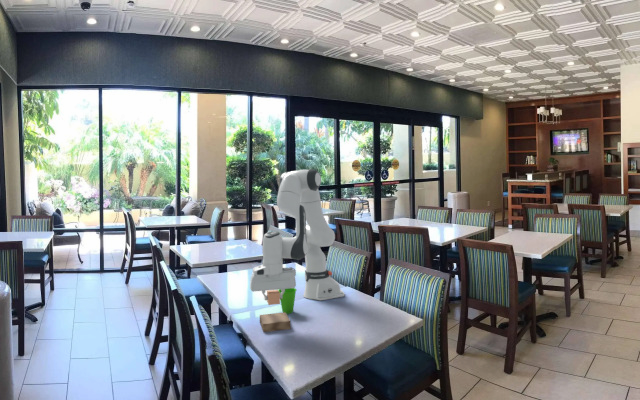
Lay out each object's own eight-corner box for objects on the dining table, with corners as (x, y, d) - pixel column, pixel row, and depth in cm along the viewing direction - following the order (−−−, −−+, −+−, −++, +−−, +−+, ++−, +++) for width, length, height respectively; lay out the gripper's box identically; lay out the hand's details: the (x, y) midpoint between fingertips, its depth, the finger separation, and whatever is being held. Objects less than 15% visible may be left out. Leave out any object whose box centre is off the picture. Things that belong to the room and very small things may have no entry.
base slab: (285, 320, 199) (285, 312, 199) (290, 329, 187) (290, 320, 187) (259, 323, 196) (259, 315, 196) (263, 333, 184) (263, 324, 184)
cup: (276, 310, 212) (275, 288, 211) (294, 307, 215) (293, 286, 214) (281, 316, 204) (280, 293, 203) (299, 313, 207) (298, 291, 206)
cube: (278, 300, 194) (277, 289, 193) (279, 303, 189) (279, 292, 189) (267, 301, 192) (266, 290, 192) (268, 305, 188) (268, 293, 187)
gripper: (294, 265, 195) (294, 295, 196) (249, 268, 190) (250, 299, 191) (297, 268, 189) (297, 299, 190) (250, 271, 184) (251, 303, 185)
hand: (273, 299), depth 191 cm, fingers closed on cube, 5 cm apart
